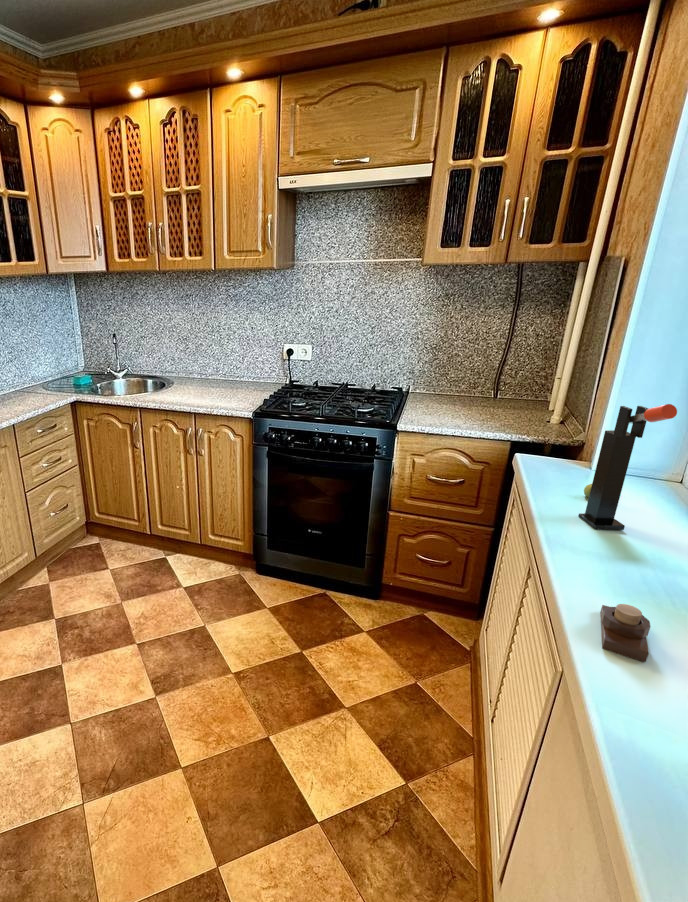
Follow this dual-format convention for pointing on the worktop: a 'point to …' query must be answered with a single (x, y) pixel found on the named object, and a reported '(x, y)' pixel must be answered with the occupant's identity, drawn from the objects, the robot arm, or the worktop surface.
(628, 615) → the button
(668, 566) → the worktop surface
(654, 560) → the worktop surface
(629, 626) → the control block
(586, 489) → the lime
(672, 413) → the lever
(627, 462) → the post
